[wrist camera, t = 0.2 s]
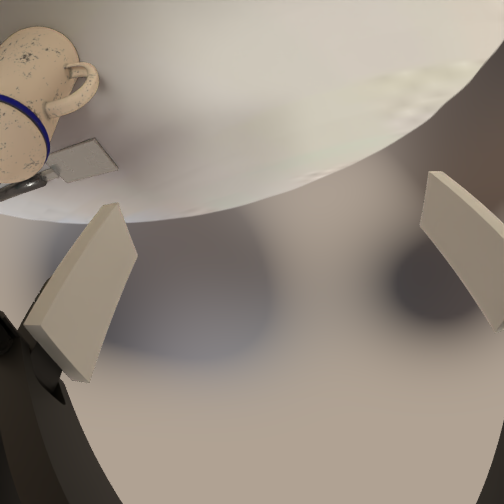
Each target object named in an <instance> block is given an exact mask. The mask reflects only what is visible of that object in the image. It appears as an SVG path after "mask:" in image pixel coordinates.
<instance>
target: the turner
mask: <svg viewBox="0 0 504 504" xmlns="http://www.w3.org/2000/svg"><path fill="white" fill-rule="evenodd" d="M45 163H46V164H47V165H48V166H49V167H50V168H51V169H48V170H45V171H42V172H40V173H39V174H36V175H34V176H32V177H30V178H29V179H26V180H24V181H21V182H16V183H13V184H11V185H8V186H6V187H4V188H1V189H0V202H1V201H4V200H7V199H9V198H12V197H15V196H17V195H20V194H23V193H26V192H29V191H31V190H34V189H37V188H40V187H43V186H45V185H46V184H47V181H49V180H52V179H55V178H58V177H59V176H60V177H61V178H62V179H63V180H64V181H65V182H67V183H70V182H73V181H77V180H81V179H84V178H88V177H92V176H96V175H100V174H104V173H108V172H112V171H116V170H118V167H117V166H116V164H115V163H114V162H113V161H112V159H111V158H110V157H109V156H108V154H107V153H106V152H105V151H104V149H103V148H102V147H101V146H100V144H99V143H98V142H97V140H96V139H95V138H94V139H91V140H88V141H85V142H82V143H79V144H76V145H73V146H70V147H67V148H64V149H61V150H59V151H56V152H53V153H51V154H49V156H48V159H47V161H46V162H45Z"/></svg>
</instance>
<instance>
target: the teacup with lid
mask: <svg viewBox="0 0 504 504" xmlns="http://www.w3.org/2000/svg"><path fill="white" fill-rule="evenodd" d="M77 77H85V78H87V79H86V81H85V83H84V84H83V85H82V86H81V87H80V88H79V89H78V90H77V91H75V92H74V93H72V94H71V95H70V93H71V91H72V89H73V87H74V84H75V82H76V80H77ZM98 85H99V76H98V73H97V70H96V68H95V67H94V66H93V65H91V64H89V63H85V62H80V63H79V58H78V54H77V52H76V50H75V48H74V46H73V44H72V43H71V42H70V41H69V40H68V39H67V38H66V37H65V36H64V35H63V34H61V33H60V32H58V31H56V30H53V29H51V28H47V27H29V28H25V29H22V30H20V31H17V32H16V33H14V34H12V35H11V36H10V37H9V38H7V39H6V40H5V41H4V42H3V44H2V45H1V46H0V183H16V182H21V181H24V180H26V179H29V178H30V177H32V176H34V175H35V174H36V173H37V172H38V171H39V170H40V169H41V168H42V166H43V165H44V164H45V162H46V161H47V159H48V156H49V152H50V141H51V138H52V136H53V133H54V130H55V128H56V125H57V123H58V120H59V118H60V116H63V115H67V114H69V113H72V112H74V111H76V110H78V109H79V108H81V107H82V106H84V105H85V104H86V103H88V102H89V101H90V100H91V99H92V97H93V96H94V94H95V93H96V91H97V89H98Z"/></svg>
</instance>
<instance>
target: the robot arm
mask: <svg viewBox="0 0 504 504" xmlns="http://www.w3.org/2000/svg"><path fill="white" fill-rule="evenodd" d="M419 226H420V227H421V228H422V229H423V231H424V232H425V233H426V234H427V236H428V237H429V238H430V239H431V241H432V242H433V243H434V244H435V246H436V247H437V248H438V250H439V251H440V252H441V253H442V255H443V256H444V257H445V259H446V260H447V261H448V263H449V264H450V265H451V267H452V268H453V270H454V271H455V272H456V274H457V275H458V276H459V278H460V279H461V281H462V282H463V284H464V285H465V287H466V288H467V290H468V291H469V293H470V294H471V295H472V297H473V298H474V300H475V302H476V303H477V305H478V306H479V308H480V309H481V311H482V312H483V314H484V316H485V318H486V319H487V321H488V323H489V324H490V326H491V328H492V329H493V331H494V333H498V332H501V331H503V330H504V224H503V223H502V222H501V221H500V220H499V219H498V218H497V217H496V216H495V215H494V214H493V213H492V212H490V211H489V210H488V209H487V208H486V207H485V206H484V205H483V204H482V203H480V202H479V201H478V200H477V199H476V198H475V197H473V196H472V195H471V194H470V193H469V192H467V191H466V190H465V189H464V188H463V187H461V186H460V185H459V184H458V183H456V182H455V181H454V180H452V179H451V178H450V177H449V176H447V175H446V174H445V173H443V172H442V171H429V172H428V180H427V186H426V193H425V199H424V205H423V211H422V215H421V221H420V225H419ZM137 256H138V255H137V252H136V250H135V247H134V244H133V242H132V239H131V237H130V234H129V231H128V228H127V226H126V223H125V220H124V217H123V215H122V212H121V209H120V206H119V203H118V202H117V203H112V204H107V205H103V206H102V207H101V209H100V210H99V211H98V212H97V214H96V215H95V216H94V218H93V219H92V220H91V221H90V223H89V224H88V226H87V227H86V228H85V229H84V231H83V232H82V233H81V235H80V236H79V237H78V239H77V240H76V242H75V243H74V244H73V246H72V247H71V249H70V250H69V251H68V253H67V254H66V256H65V257H64V259H63V260H62V262H61V263H60V265H59V266H58V268H57V269H56V271H55V272H54V274H53V275H52V276H51V277H50V278H49V279H48V280H47V281H46V282H45V284H44V286H43V287H42V289H41V290H40V294H38V295H37V297H36V298H35V302H33V304H32V305H31V307H30V309H29V310H28V312H27V314H26V316H25V318H24V319H23V321H22V323H21V325H20V327H19V329H18V330H16V328H15V327H14V326H13V325H12V323H11V322H10V321H9V319H8V318H7V317H6V315H5V314H4V312H2V311H0V504H123V503H122V502H121V500H120V499H119V497H118V496H117V494H116V492H115V491H114V489H113V488H112V486H111V484H110V482H109V481H108V479H107V477H106V475H105V474H104V472H103V470H102V468H101V467H100V464H99V463H98V461H97V459H96V457H95V455H94V453H93V451H92V449H91V447H90V445H89V443H88V441H87V438H86V436H85V434H84V432H83V430H82V427H81V425H80V423H79V420H78V418H77V416H76V413H75V411H74V408H73V406H72V403H71V400H70V398H69V395H68V392H67V390H66V387H65V384H64V383H63V381H62V380H61V379H60V375H61V373H62V371H63V372H64V373H65V374H66V375H67V376H68V377H69V378H70V379H71V380H72V381H79V382H87V383H90V380H91V377H92V374H93V371H94V367H95V364H96V361H97V358H98V355H99V352H100V349H101V347H102V344H103V341H104V338H105V335H106V333H107V330H108V327H109V324H110V322H111V319H112V316H113V314H114V311H115V309H116V306H117V303H118V301H119V298H120V296H121V294H122V291H123V288H124V286H125V284H126V282H127V279H128V277H129V274H130V272H131V270H132V268H133V265H134V263H135V261H136V259H137ZM476 504H504V422H503V426H502V431H501V434H500V438H499V442H498V445H497V448H496V452H495V455H494V458H493V461H492V464H491V467H490V470H489V473H488V476H487V479H486V481H485V484H484V486H483V489H482V492H481V494H480V496H479V498H478V501H477V503H476Z"/></svg>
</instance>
